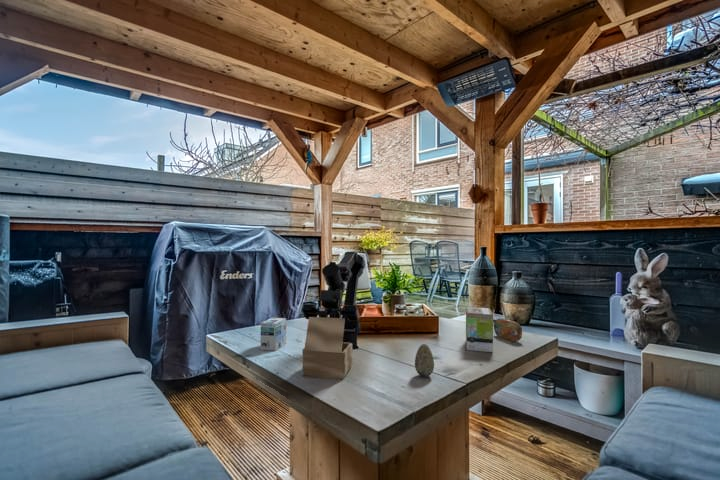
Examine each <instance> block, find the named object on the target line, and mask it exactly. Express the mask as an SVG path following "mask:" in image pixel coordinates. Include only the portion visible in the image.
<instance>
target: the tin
mask: <svg viewBox="0 0 720 480" xmlns="http://www.w3.org/2000/svg"><path fill="white" fill-rule="evenodd" d="M493 332H494V333H495V335H496V336H497V337H498V338H500V339H503V340H506V341H509V342H512V343H513V342H519V341H520V340H521V339H522V337H523V329H522V325H520V323H519V322H518V321H513V320H509V319H506V318H497V319H495V321H494V322H493Z"/></svg>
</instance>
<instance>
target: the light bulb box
mask: <svg viewBox="0 0 720 480" xmlns="http://www.w3.org/2000/svg"><path fill="white" fill-rule="evenodd" d="M286 344H287V318H285V317H270V318H269V319H266V320H264V321H261V322H260V350H263V351H274V352H275V351H277V350H279V349H281V348H282V347H283V346H286Z"/></svg>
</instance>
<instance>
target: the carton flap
mask: <svg viewBox="0 0 720 480" xmlns="http://www.w3.org/2000/svg"><path fill="white" fill-rule="evenodd" d="M307 322H308V323H307V329H306V335H305V342H304V348H303V349H304V350H305V351H320V352H336V353H342V344H343V334H344V324H345V318H329V317H328V318H323V317H319V316H317V317H309V319H308V320H307Z"/></svg>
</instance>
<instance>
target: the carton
mask: <svg viewBox="0 0 720 480" xmlns="http://www.w3.org/2000/svg"><path fill="white" fill-rule="evenodd" d="M301 355H302V358H301V359H302V361H301V362H302V363H301V366H302V370H301V371H302V373H303V375H302V377H308V378H322V379H333V380H335V379H336V380H344V379H345V377H346V376H347V374H348V373H349V371H350V370H351V369H352V366H353V349H352V343H350V342H343V344H342V353H336V352H320V351H305V350H304V348H303V349H302V354H301Z"/></svg>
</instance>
